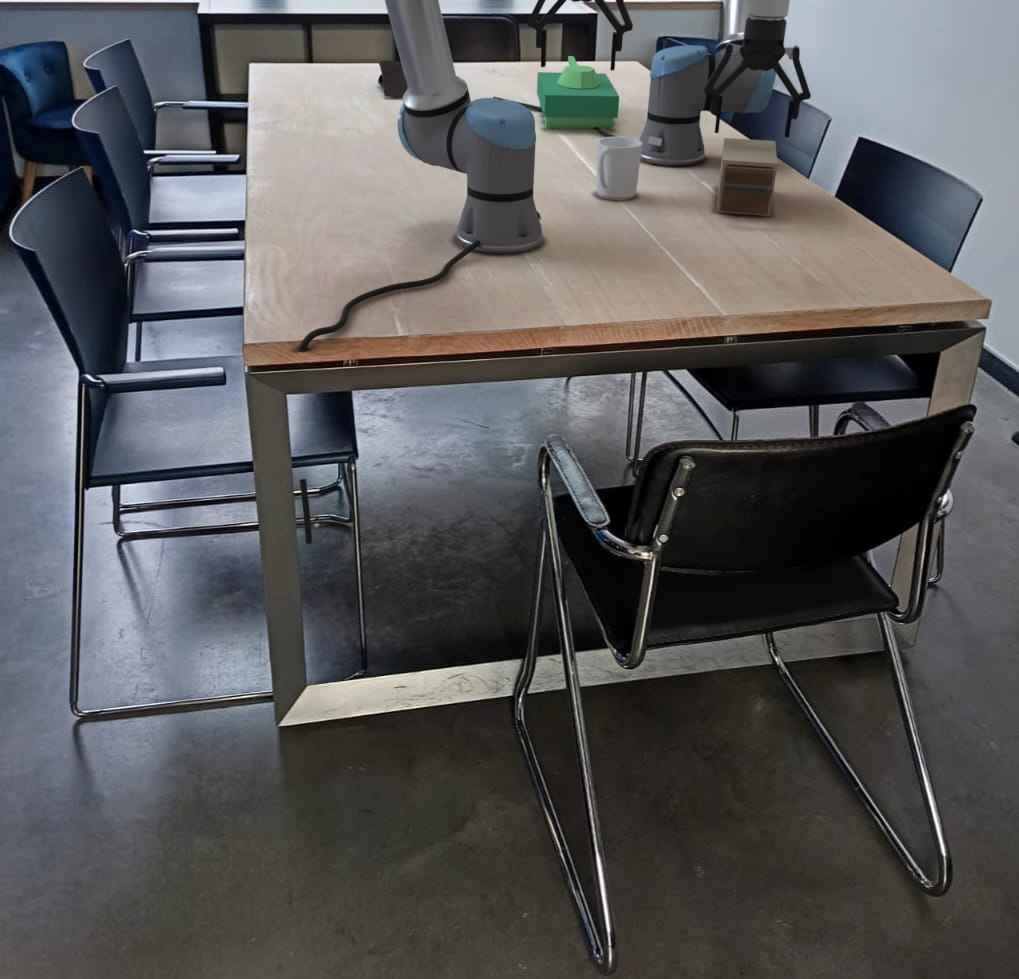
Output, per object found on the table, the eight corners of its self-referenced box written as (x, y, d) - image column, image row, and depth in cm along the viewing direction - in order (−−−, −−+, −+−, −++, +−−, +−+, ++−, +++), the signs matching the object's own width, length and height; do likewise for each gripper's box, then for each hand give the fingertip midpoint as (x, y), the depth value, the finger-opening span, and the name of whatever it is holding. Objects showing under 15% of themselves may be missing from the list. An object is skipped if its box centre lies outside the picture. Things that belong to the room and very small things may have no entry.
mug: (610, 185, 226) (613, 134, 221) (646, 193, 222) (651, 142, 216) (579, 196, 219) (581, 144, 214) (615, 205, 214) (619, 152, 209)
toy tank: (603, 52, 288) (620, 79, 258) (599, 101, 294) (616, 133, 265) (536, 51, 287) (546, 78, 257) (534, 99, 294) (543, 131, 264)
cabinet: (769, 216, 211) (777, 163, 206) (716, 212, 213) (723, 159, 207) (768, 191, 225) (775, 141, 220) (718, 187, 227) (724, 137, 222)
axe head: (443, 87, 294) (392, 77, 287) (436, 115, 299) (385, 106, 292) (421, 62, 307) (371, 52, 300) (414, 89, 311) (365, 80, 304)
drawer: (768, 222, 205) (774, 178, 201) (719, 218, 206) (725, 174, 202) (765, 190, 223) (771, 149, 218) (721, 187, 224) (726, 146, 220)
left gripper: (651, -53, 205) (642, 66, 216) (519, -58, 207) (516, 61, 218) (651, -49, 199) (641, 74, 210) (514, -54, 201) (512, 68, 212)
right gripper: (833, 17, 206) (815, 133, 217) (700, 11, 210) (688, 125, 220) (836, 23, 200) (817, 142, 211) (698, 17, 203) (687, 134, 214)
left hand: (577, 67), depth 214 cm, fingers open, 13 cm apart
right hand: (751, 133), depth 216 cm, fingers open, 13 cm apart
